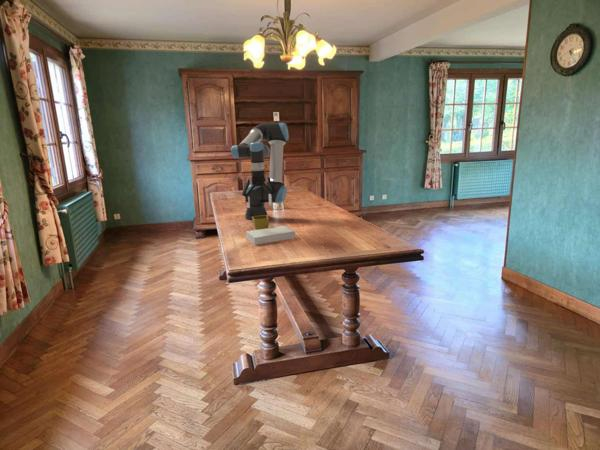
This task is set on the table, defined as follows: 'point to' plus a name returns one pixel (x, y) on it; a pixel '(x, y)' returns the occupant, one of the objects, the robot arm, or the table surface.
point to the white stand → (270, 235)
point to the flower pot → (260, 222)
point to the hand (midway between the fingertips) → (259, 206)
